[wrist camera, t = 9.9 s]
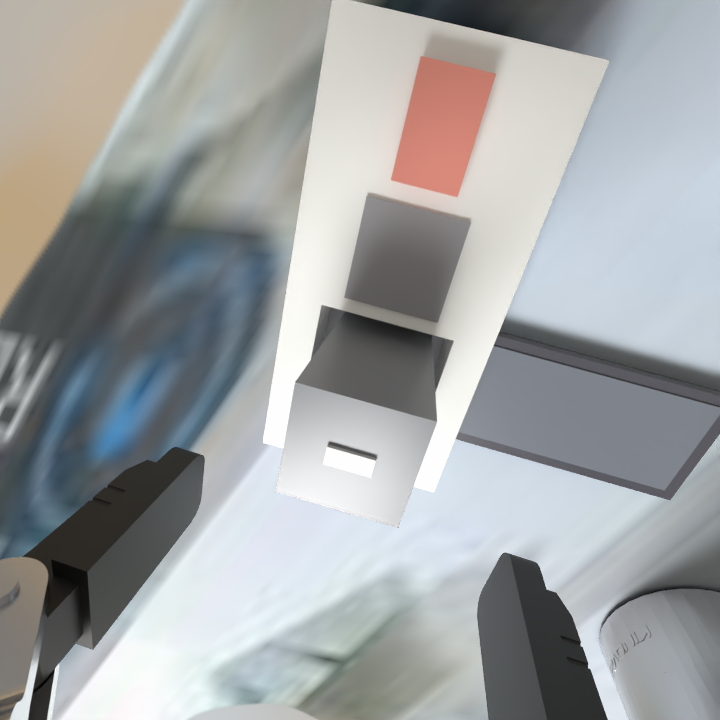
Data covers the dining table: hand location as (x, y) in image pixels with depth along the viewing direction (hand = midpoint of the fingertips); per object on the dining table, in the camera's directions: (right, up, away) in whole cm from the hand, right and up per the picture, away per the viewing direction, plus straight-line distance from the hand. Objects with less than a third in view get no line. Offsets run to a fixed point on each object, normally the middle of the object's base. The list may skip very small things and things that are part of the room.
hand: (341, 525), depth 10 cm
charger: (+1, +4, +10) cm, 11 cm away
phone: (+11, +2, +10) cm, 15 cm away
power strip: (+2, +8, +9) cm, 12 cm away
